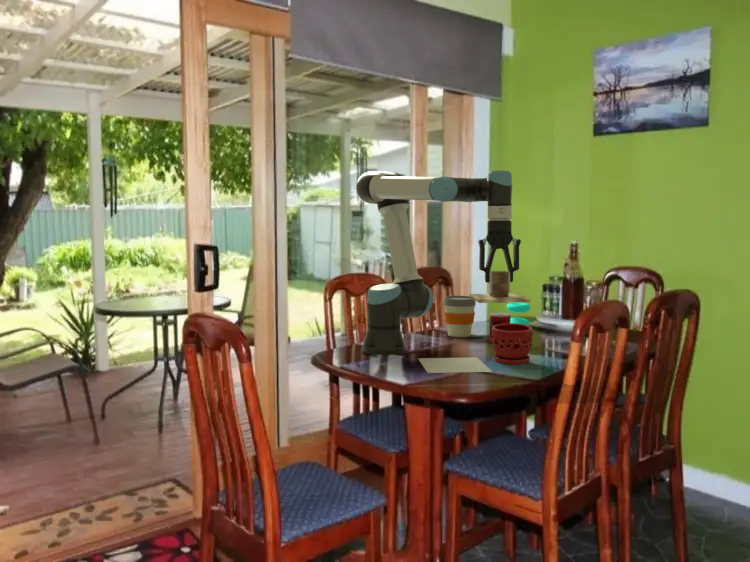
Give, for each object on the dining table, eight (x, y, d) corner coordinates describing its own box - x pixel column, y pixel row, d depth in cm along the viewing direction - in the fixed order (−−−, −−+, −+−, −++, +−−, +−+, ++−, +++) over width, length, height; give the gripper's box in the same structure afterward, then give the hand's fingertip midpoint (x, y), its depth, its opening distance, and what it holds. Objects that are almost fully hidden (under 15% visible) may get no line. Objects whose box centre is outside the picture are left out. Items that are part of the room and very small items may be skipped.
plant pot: (486, 358, 228) (487, 323, 227) (524, 357, 229) (525, 322, 228) (497, 367, 215) (497, 330, 214) (537, 366, 216) (538, 329, 215)
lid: (479, 303, 209) (479, 273, 209) (469, 296, 225) (469, 269, 224) (530, 302, 210) (530, 273, 209) (516, 296, 226) (517, 269, 225)
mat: (427, 374, 206) (427, 372, 206) (417, 359, 226) (417, 358, 226) (492, 373, 208) (492, 371, 207) (477, 358, 227) (477, 357, 227)
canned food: (508, 340, 259) (509, 312, 258) (510, 344, 251) (511, 315, 250) (488, 340, 260) (489, 311, 259) (489, 344, 252) (490, 315, 251)
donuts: (504, 304, 286) (508, 301, 295) (503, 327, 287) (508, 324, 296) (528, 305, 282) (532, 302, 291) (527, 329, 283) (531, 325, 292)
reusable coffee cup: (437, 335, 268) (438, 298, 267) (451, 331, 279) (452, 294, 277) (467, 339, 262) (467, 300, 260) (480, 334, 272) (480, 297, 271)
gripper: (473, 220, 211) (473, 294, 213) (530, 219, 212) (529, 293, 214) (469, 220, 219) (468, 291, 221) (524, 219, 220) (523, 290, 222)
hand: (498, 292), depth 218 cm, fingers closed on lid, 5 cm apart
